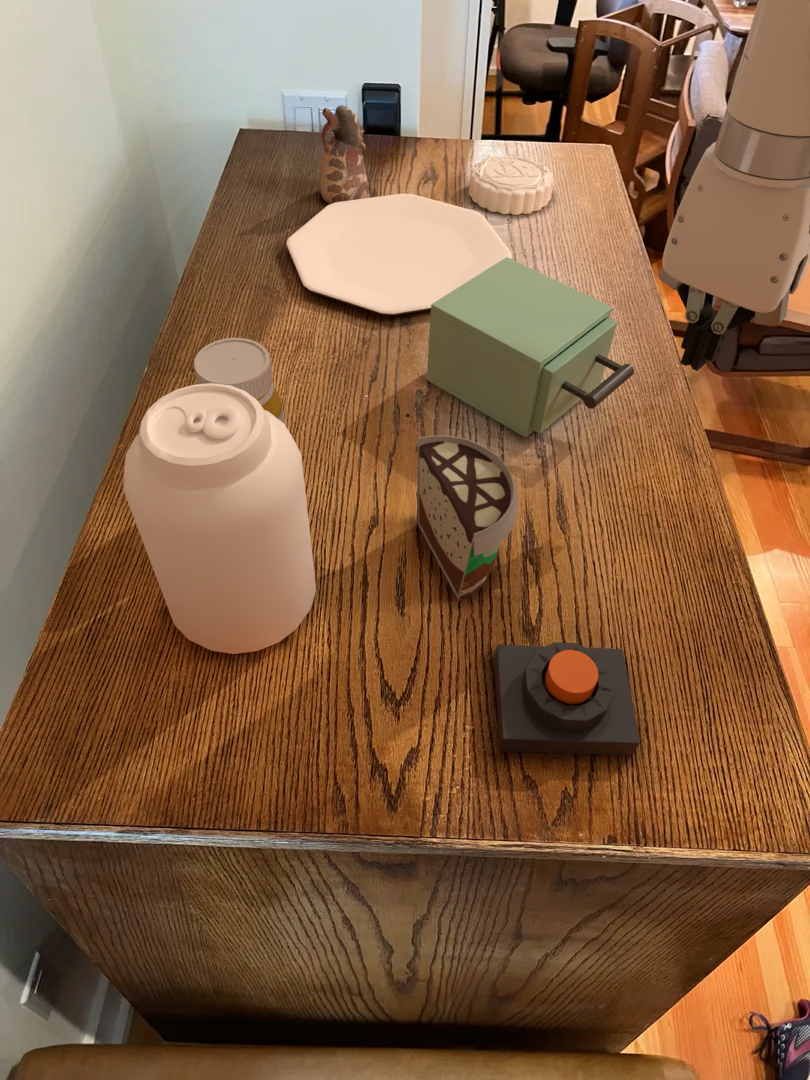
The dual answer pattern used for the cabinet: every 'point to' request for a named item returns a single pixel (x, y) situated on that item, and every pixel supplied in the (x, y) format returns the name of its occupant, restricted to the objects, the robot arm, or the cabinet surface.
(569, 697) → the button
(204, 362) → the bottle
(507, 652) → the block
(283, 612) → the can
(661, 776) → the cabinet surface
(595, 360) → the green cabinet drawer
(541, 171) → the mooncake
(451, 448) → the food container
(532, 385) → the green drawer box
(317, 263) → the plate
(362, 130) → the figurine
